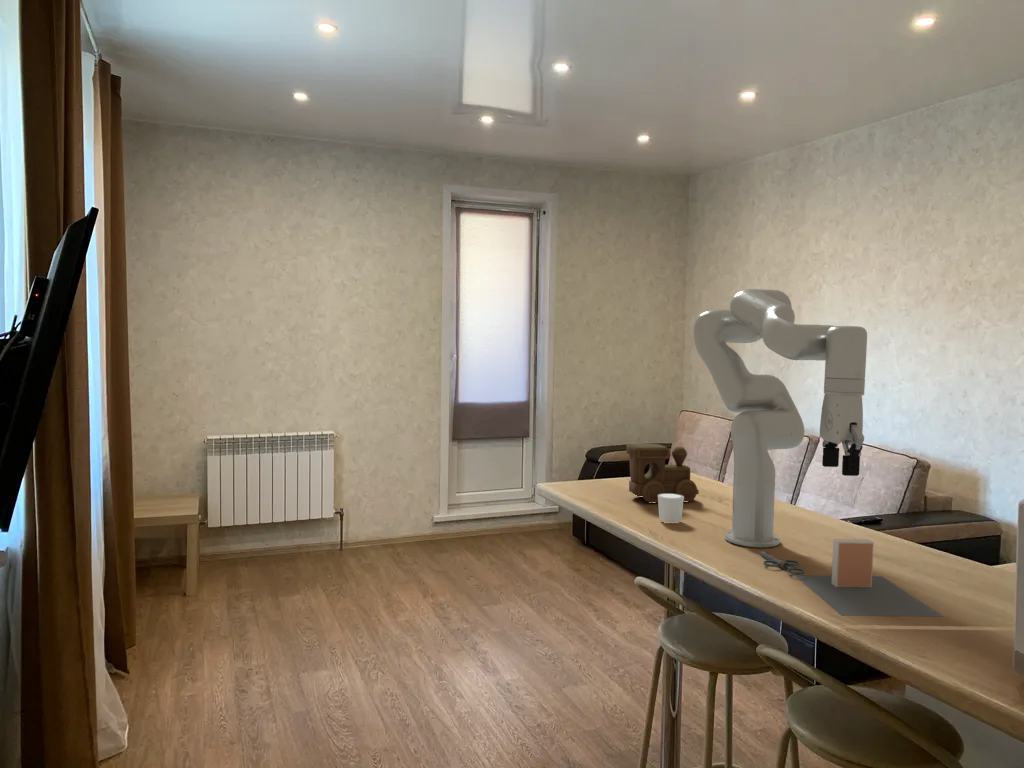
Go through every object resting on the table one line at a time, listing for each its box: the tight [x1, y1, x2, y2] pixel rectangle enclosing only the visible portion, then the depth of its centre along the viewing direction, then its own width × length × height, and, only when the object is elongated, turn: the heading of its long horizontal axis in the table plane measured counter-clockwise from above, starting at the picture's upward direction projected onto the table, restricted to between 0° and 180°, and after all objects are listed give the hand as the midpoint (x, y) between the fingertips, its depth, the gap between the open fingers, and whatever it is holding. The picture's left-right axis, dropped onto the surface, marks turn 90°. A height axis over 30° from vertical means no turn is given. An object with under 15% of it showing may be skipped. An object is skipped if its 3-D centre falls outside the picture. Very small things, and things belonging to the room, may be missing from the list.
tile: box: [831, 538, 875, 587], centre depth 146 cm, size 2×7×9 cm, turn 90°
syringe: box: [757, 550, 805, 575], centre depth 160 cm, size 8×18×2 cm, turn 9°
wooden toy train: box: [626, 443, 700, 503], centre depth 223 cm, size 20×11×17 cm, turn 102°
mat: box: [794, 574, 944, 618], centre depth 142 cm, size 22×18×1 cm
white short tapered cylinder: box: [657, 493, 684, 522], centre depth 198 cm, size 7×7×7 cm
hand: (840, 470), depth 152 cm, fingers open, 9 cm apart
